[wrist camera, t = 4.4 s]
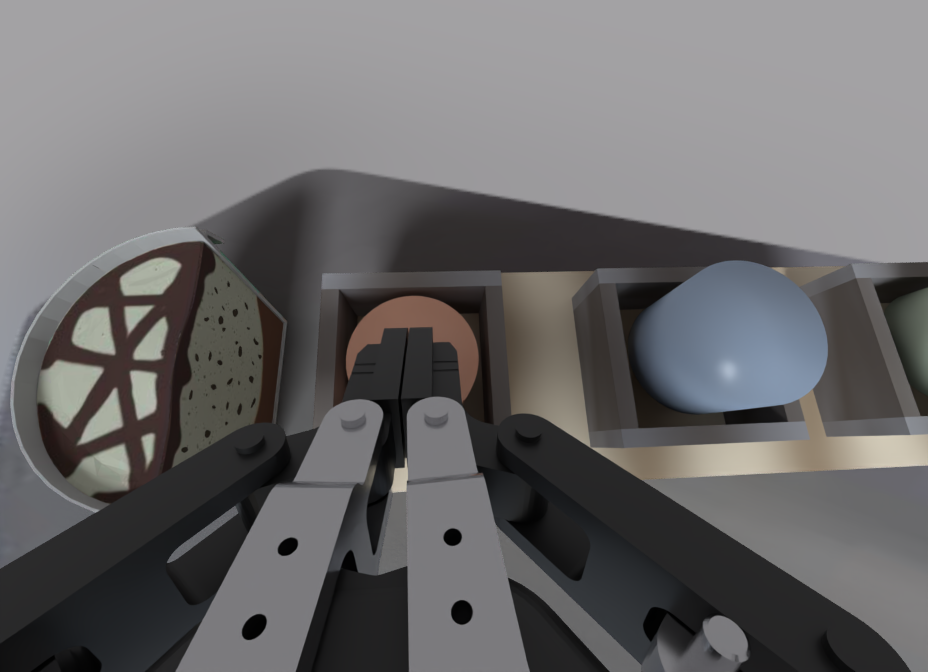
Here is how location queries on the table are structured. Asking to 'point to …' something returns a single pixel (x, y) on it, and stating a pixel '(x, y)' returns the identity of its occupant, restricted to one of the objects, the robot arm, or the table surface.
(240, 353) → the food container
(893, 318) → the sage button
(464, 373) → the peach rounded knob
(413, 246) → the table surface
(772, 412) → the button console
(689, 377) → the slate button
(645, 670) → the robot arm
